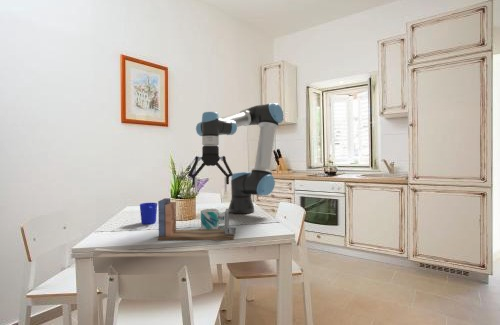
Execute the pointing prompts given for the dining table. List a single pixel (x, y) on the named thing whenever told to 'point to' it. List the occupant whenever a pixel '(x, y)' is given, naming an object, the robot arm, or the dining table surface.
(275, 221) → the dining table surface
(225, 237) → the shelf
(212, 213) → the mug
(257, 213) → the dining table surface
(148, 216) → the mug
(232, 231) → the bookend
